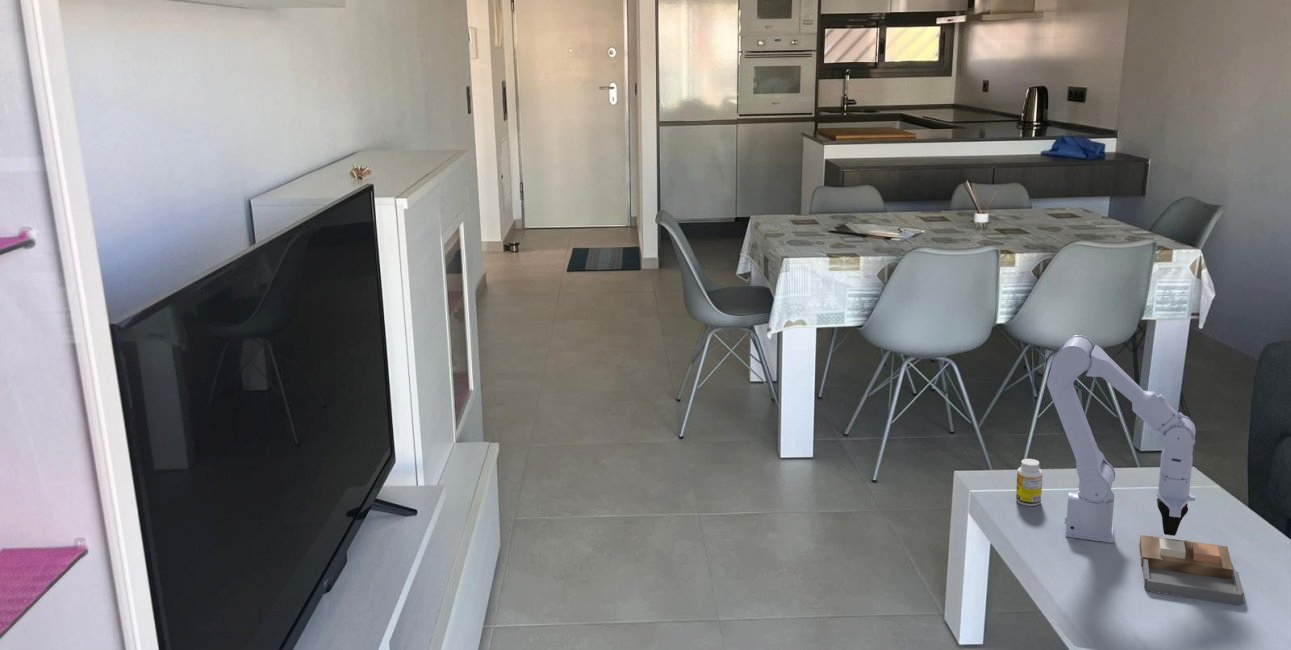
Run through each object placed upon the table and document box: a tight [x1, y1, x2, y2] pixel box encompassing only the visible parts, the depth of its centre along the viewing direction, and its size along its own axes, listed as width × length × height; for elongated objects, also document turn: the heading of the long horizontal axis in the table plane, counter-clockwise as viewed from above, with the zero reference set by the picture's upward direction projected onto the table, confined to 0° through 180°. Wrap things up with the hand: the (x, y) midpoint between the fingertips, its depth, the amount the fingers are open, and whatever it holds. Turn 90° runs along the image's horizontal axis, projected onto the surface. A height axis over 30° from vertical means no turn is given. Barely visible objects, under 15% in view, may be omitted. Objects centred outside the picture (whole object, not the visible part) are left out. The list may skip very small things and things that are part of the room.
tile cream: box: [1159, 537, 1186, 559], centre depth 198 cm, size 4×4×2 cm
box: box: [1142, 559, 1244, 606], centre depth 190 cm, size 17×9×2 cm, turn 66°
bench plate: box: [1138, 534, 1234, 580], centre depth 198 cm, size 16×10×2 cm, turn 66°
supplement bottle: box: [1015, 458, 1043, 507], centre depth 228 cm, size 6×6×10 cm
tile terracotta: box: [1192, 542, 1220, 563], centre depth 196 cm, size 4×4×2 cm
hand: (1169, 533), depth 204 cm, fingers closed
